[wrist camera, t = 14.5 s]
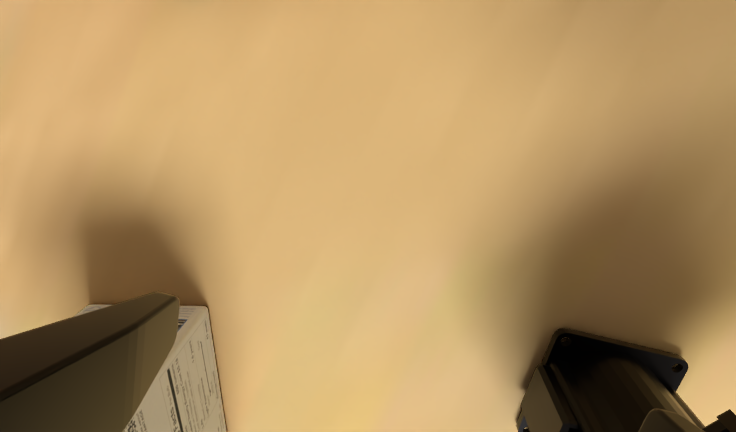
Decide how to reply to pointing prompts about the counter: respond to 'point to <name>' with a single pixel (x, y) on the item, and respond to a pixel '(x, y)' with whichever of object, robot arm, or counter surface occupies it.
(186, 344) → the light bulb box
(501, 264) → the counter surface
